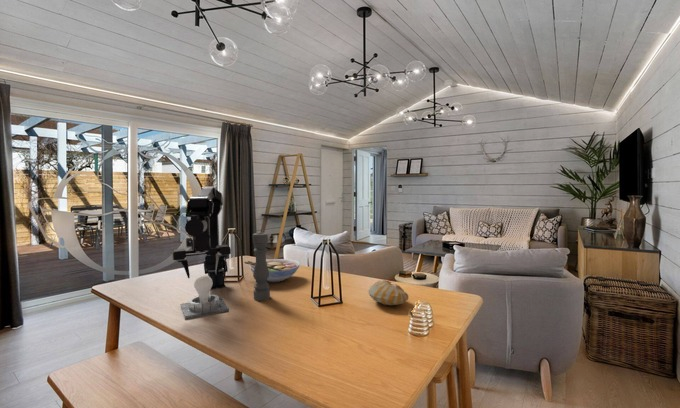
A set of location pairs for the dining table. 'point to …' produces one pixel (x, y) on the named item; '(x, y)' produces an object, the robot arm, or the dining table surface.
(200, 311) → the bulb socket
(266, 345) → the dining table surface
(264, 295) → the candle holder
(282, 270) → the ramen bowl
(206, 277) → the lightbulb
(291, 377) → the dining table surface
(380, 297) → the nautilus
